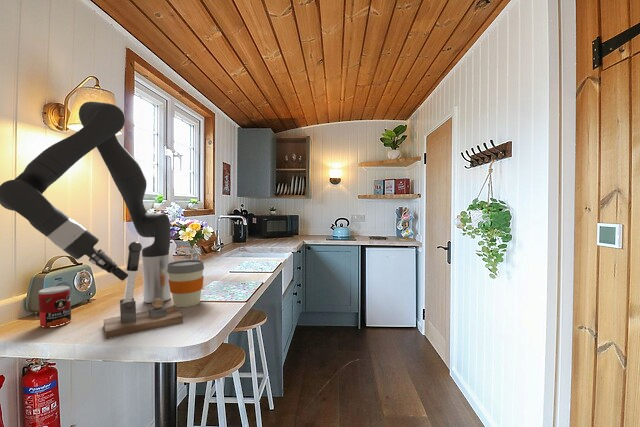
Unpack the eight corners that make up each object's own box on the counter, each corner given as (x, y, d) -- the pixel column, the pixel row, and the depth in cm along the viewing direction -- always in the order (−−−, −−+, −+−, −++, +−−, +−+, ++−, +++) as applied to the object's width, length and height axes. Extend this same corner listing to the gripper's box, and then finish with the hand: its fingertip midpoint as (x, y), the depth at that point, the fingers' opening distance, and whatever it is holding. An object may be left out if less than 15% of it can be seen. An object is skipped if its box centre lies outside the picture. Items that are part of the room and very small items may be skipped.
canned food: (46, 330, 98) (44, 293, 97) (35, 325, 102) (33, 290, 101) (76, 322, 104) (74, 287, 104) (65, 317, 108) (63, 284, 108)
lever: (119, 307, 99) (128, 240, 100) (133, 306, 101) (141, 241, 102) (120, 310, 96) (129, 241, 97) (134, 309, 98) (143, 242, 99)
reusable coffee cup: (178, 298, 128) (176, 260, 128) (210, 298, 128) (208, 259, 127) (161, 308, 116) (160, 266, 115) (196, 308, 115) (195, 265, 115)
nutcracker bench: (103, 325, 100) (102, 299, 100) (174, 312, 112) (173, 288, 111) (105, 338, 90) (104, 309, 90) (182, 322, 102) (182, 296, 102)
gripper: (84, 230, 87) (138, 271, 94) (86, 227, 98) (133, 265, 105) (59, 251, 84) (116, 292, 91) (63, 246, 95) (114, 283, 102)
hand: (125, 277), depth 98 cm, fingers closed
